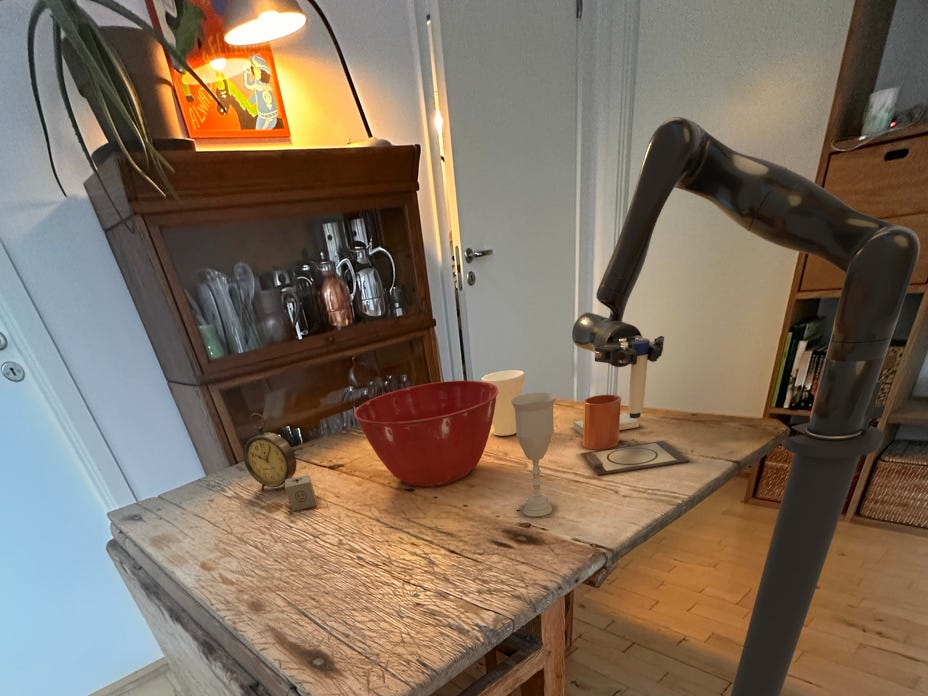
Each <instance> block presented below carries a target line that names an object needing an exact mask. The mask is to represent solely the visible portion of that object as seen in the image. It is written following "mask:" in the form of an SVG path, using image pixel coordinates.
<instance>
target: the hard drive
mask: <svg viewBox="0 0 928 696" xmlns="http://www.w3.org/2000/svg"><path fill="white" fill-rule="evenodd" d="M639 427H640V421H639V419H638V418H630V414H629V413H626V412H623V413H620V430H619V431H625V430H629V429H635V428H639ZM573 429H574V430H575V431H577V433H579V434H580V435H582V436H583V420H578V421H574V422H573Z"/></svg>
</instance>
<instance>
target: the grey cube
mask: <svg viewBox="0 0 928 696" xmlns="http://www.w3.org/2000/svg"><path fill="white" fill-rule="evenodd" d="M284 489H285V494H286V495H287V499H288V503H289V505H290V508H291V511H292V512H296V511H300V510H305V509H308V508H313V507H317V506H318V503H317V502H318V501H317V495H316V493H315V489H314V486H313V482H312V480H311V476H310V474H304V475H300V476H296V477H292V478H291V479H286V480H285V483H284Z"/></svg>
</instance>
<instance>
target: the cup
mask: <svg viewBox="0 0 928 696" xmlns="http://www.w3.org/2000/svg"><path fill="white" fill-rule="evenodd" d="M481 382H487V383H490V384H493V385H495V386H496V387H497V388H498V394H497V396H496V403H495V409H494V415H493V420H492V429H493V434H494V435H496V436H511V435H514V434H516V421H515V408H514V406H513V404H512V403H511V400H512V399H513V398H515V397H517V396H521V395H523V386H524V382H525V372H524V371H523V370H516V369H515V370H514V369H513V370H512V369H511V370H501V371H496V372H492V373H488V374H486V375H483V376H482V378H481Z"/></svg>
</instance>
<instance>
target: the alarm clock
mask: <svg viewBox="0 0 928 696" xmlns="http://www.w3.org/2000/svg"><path fill="white" fill-rule="evenodd" d="M254 416H259V417H260V418H261V419H262V420H263V426H258V427H257V426H256V425H255V424H254V423H253V417H254ZM249 421H250V424H251V425H252V426H253V427H254V428H255V429H257V430H258V435H255V436H253V437H250V438H249V439H248V440H247V441H246V443H245V444H244V447H243V450H242V451H243V453H242V456H243V457H242V458H243V462H244V465H245V467H246V469H247V471H248V473H249V474H250V476H251V477H252V478H253V479H254V480H255V481H256V482H258V483H259V484H261V488H260V489H261V490H262V491H264V490H265V487H267V488H279V487H281V486H283V485H284V484H285V480H286V479H291V478H294V476H295V474H296V471H297V458H296V454H295V452H294V449H293V448H292V446H291V445H290V444H289V442H288V441H287V440H286V439H284V438H283V437H282V436H281V435H279V434H276V433H274V432H264V431H263V430H264V428H266V419H265V417H263V415H262V414H260V413H258V412H254V413H252V414H250V418H249Z"/></svg>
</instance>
